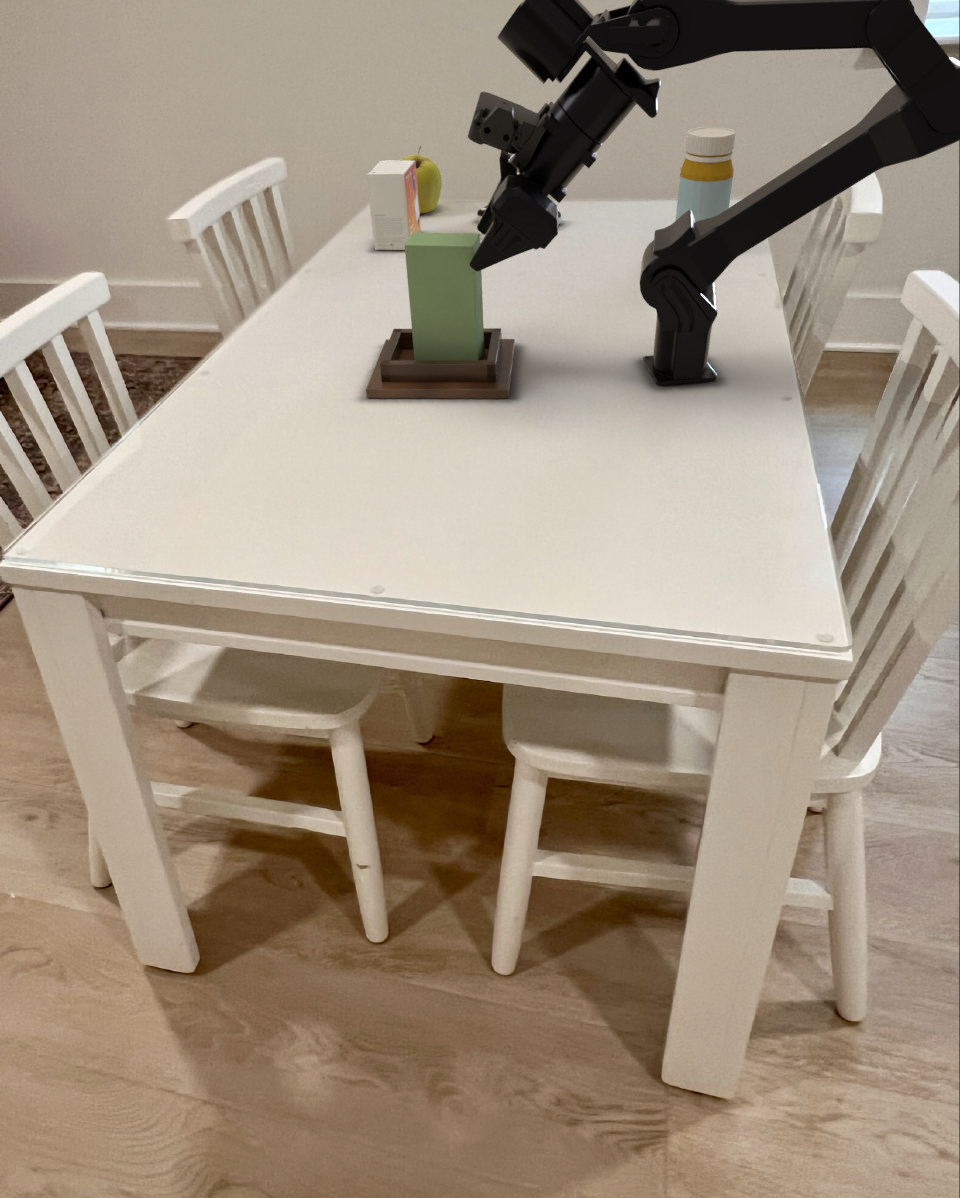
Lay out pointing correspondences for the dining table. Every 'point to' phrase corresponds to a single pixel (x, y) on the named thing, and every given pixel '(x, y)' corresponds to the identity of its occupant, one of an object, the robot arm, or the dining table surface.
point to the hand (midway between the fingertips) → (476, 249)
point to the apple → (426, 182)
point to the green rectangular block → (445, 296)
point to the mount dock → (442, 371)
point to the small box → (393, 203)
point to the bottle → (706, 172)
